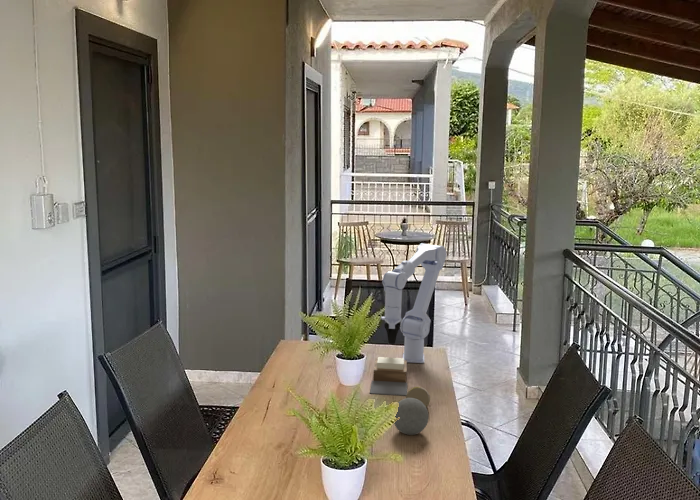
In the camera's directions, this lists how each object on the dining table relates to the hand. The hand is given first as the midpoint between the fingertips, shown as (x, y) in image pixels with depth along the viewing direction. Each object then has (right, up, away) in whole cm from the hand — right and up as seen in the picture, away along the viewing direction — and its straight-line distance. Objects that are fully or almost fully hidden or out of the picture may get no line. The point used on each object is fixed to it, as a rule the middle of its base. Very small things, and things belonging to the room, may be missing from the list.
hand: (391, 343), depth 231 cm
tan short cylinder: (+6, -15, -29) cm, 34 cm away
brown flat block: (-1, -11, -5) cm, 12 cm away
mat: (-2, -13, -16) cm, 21 cm away
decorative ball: (+2, -18, -49) cm, 52 cm away
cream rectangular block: (-1, -7, -6) cm, 10 cm away
